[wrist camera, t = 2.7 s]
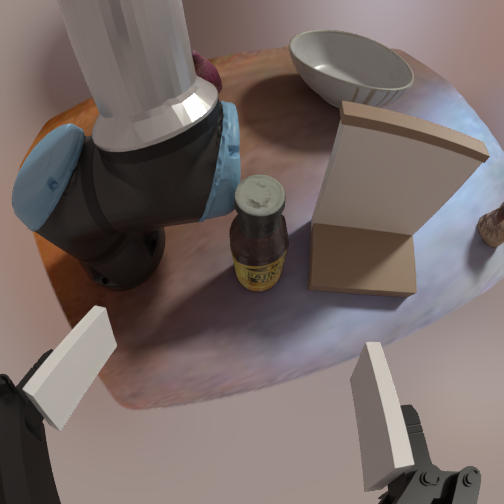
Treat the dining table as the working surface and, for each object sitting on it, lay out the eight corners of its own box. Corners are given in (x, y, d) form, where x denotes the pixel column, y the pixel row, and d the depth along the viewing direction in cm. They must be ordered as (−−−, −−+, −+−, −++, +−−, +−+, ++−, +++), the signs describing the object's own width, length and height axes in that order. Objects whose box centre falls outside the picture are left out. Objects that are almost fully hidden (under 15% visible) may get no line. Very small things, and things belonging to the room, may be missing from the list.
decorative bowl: (382, 154, 47) (403, 110, 35) (264, 101, 53) (263, 55, 41) (406, 96, 54) (420, 61, 43) (314, 57, 60) (318, 21, 49)
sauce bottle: (251, 302, 38) (238, 251, 19) (228, 265, 40) (199, 189, 21) (291, 277, 39) (313, 207, 20) (267, 243, 41) (268, 153, 22)
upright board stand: (305, 289, 38) (353, 206, 17) (309, 219, 42) (341, 100, 20) (408, 297, 37) (515, 237, 15) (404, 231, 41) (483, 142, 19)
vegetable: (220, 110, 57) (219, 67, 42) (175, 110, 56) (164, 68, 41) (223, 78, 58) (224, 35, 43) (182, 79, 57) (174, 37, 42)
